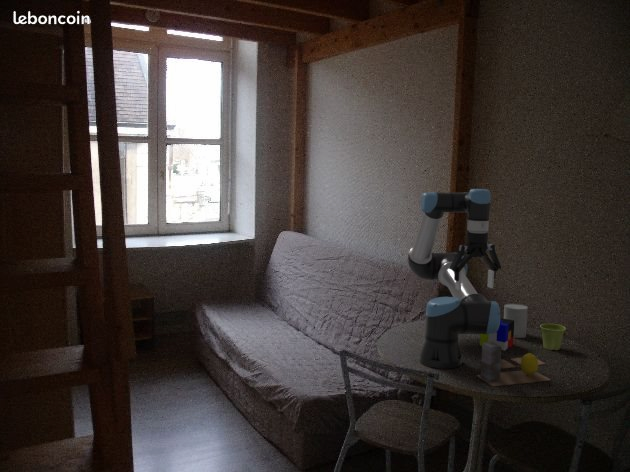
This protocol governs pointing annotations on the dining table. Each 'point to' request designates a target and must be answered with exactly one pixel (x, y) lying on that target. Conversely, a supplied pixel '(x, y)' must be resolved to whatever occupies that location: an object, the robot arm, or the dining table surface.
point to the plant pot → (552, 336)
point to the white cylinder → (517, 318)
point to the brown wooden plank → (518, 360)
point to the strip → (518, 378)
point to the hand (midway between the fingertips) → (474, 288)
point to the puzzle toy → (501, 334)
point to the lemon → (529, 364)
